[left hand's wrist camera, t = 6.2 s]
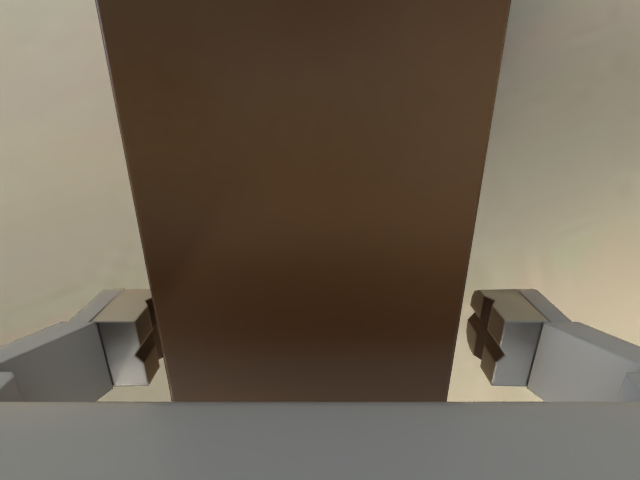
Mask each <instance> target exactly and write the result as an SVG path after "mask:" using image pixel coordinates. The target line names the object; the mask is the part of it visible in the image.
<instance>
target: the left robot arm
mask: <svg viewBox="0 0 640 480" xmlns="http://www.w3.org/2000/svg"><path fill="white" fill-rule="evenodd" d="M470 305H471V307H472V308H473V310H474V311H475V313H474V314H473V315H472V316H471V317H470V318H469V319H468V323H467V330H466V331H467V341H468V344H469V347H470V349H471V351H472V353H473V355H475V356H476V357H478V358H479V359H481V366H480V367H481V369H482V370H483V372H484V374H485V375H486V377H487V379H488V380H489V382H490V384H491V385H492V386H527V389H529V390H530V391H531V392H533V393H534V394H536V395H537V396H538V397H540V398H541V399H542V400H544V401H545V402H95V401H97V400H98V399H99V398H101V397H102V396H103V395H105V394H106V393H107V392H109V391H110V390H111V389H113V386H149V384H150V382H151V380H152V379H153V377H154V375H155V374H156V372H157V370H158V369H159V367H160V366H159V359H161V358H162V357H163V353H162V347H161V342H160V337H159V332H158V326H157V321H156V316H155V311H154V305H153V300H152V295H151V290H141V289H106V290H103V291H102V292H100V293H99V294H98V295H97V296H96V297H95V298H94V299H93V300H92V301H90V302H89V303H88V304H87V305H86V306H85V307H84V308H83V309H82V310H81V311H79V312H78V313H77V314H76V315H75V316H74V317H73V318H72V319H71V320H69V321H68V322H60V323H58V324H55V325H53V326H50V327H48V328H45V329H43V330H40V331H38V332H35V333H33V334H31V335H28V336H26V337H23V338H21V339H18V340H16V341H13V342H11V343H8V344H6V345H3V346H1V347H0V480H640V347H639V346H637V345H634V344H632V343H629V342H627V341H624V340H622V339H619V338H617V337H614V336H612V335H609V334H607V333H604V332H602V331H600V330H597V329H595V328H592V327H590V326H587V325H585V324H582V323H580V322H572V321H571V320H569V319H568V318H567V317H566V316H565V315H564V314H563V313H562V312H561V311H560V310H558V309H557V308H556V307H555V306H554V305H553V304H552V303H551V302H550V301H549V300H547V299H546V298H545V297H544V296H543V295H542V294H541V293H540V292H539V291H538V290H535V289H503V290H477V291H474V293H473V295H472V299H471V304H470Z"/></svg>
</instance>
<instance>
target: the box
mask: <svg viewBox="0 0 640 480" xmlns="http://www.w3.org/2000/svg"><path fill="white" fill-rule="evenodd" d="M95 2H96V7H97V12H98V18H99V23H100V28H101V33H102V39H103V44H104V49H105V54H106V60H107V65H108V70H109V75H110V80H111V86H112V91H113V96H114V101H115V107H116V112H117V117H118V122H119V128H120V133H121V138H122V143H123V148H124V154H125V159H126V164H127V169H128V175H129V180H130V185H131V190H132V196H133V201H134V206H135V211H136V216H137V222H138V227H139V232H140V237H141V243H142V248H143V253H144V258H145V264H146V269H147V274H148V279H149V285H150V290H151V295H152V300H153V305H154V311H155V316H156V321H157V326H158V332H159V337H160V342H161V347H162V353H163V358H164V363H165V368H166V373H167V379H168V384H169V389H170V394H171V400H172V402H447V396H448V389H449V383H450V377H451V371H452V365H453V358H454V352H455V346H456V340H457V333H458V327H459V321H460V315H461V308H462V302H463V296H464V290H465V284H466V277H467V271H468V265H469V259H470V252H471V246H472V240H473V234H474V228H475V221H476V215H477V209H478V203H479V196H480V190H481V184H482V178H483V171H484V165H485V159H486V153H487V147H488V140H489V134H490V128H491V122H492V115H493V109H494V103H495V97H496V91H497V84H498V78H499V72H500V66H501V59H502V53H503V47H504V41H505V34H506V28H507V22H508V16H509V10H510V3H511V0H95Z"/></svg>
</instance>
